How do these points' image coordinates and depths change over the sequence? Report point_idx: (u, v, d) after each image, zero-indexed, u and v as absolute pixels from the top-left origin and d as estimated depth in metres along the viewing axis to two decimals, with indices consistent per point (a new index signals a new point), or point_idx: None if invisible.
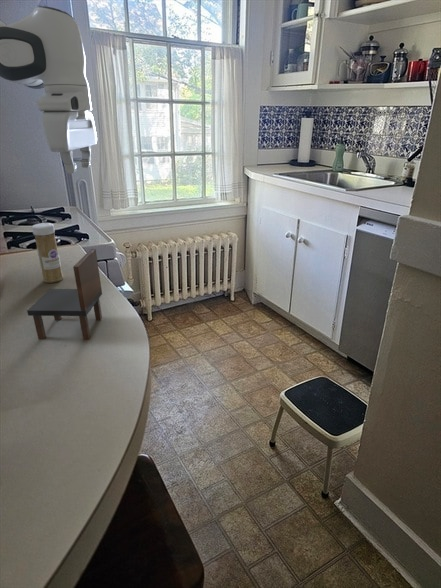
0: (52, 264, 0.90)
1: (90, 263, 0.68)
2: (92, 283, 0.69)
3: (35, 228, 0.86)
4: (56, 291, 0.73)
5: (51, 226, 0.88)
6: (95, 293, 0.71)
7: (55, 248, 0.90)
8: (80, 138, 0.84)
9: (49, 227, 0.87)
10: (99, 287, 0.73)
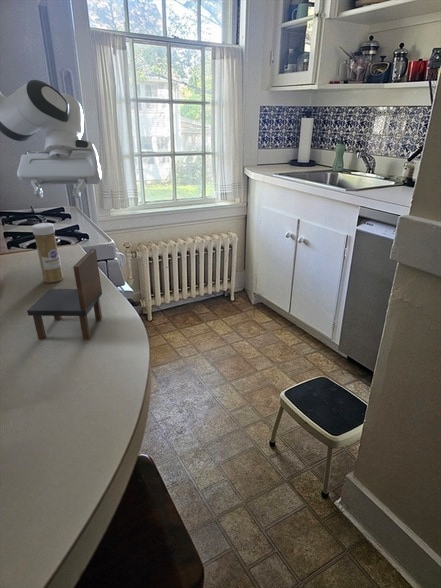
0: (52, 264, 0.90)
1: (90, 263, 0.68)
2: (92, 283, 0.69)
3: (35, 228, 0.86)
4: (56, 291, 0.73)
5: (51, 226, 0.88)
6: (95, 293, 0.71)
7: (55, 248, 0.90)
8: None
9: (49, 227, 0.87)
10: (99, 287, 0.73)
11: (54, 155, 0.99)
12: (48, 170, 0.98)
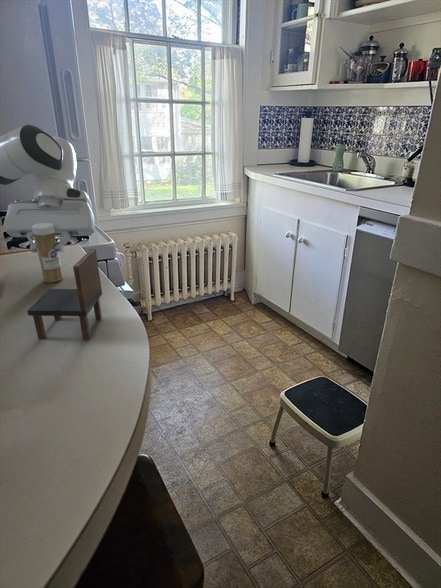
0: (52, 264, 0.90)
1: (90, 263, 0.68)
2: (92, 283, 0.69)
3: (35, 228, 0.86)
4: (56, 291, 0.73)
5: (51, 226, 0.88)
6: (95, 293, 0.71)
7: None
8: None
9: (48, 227, 0.87)
10: (99, 287, 0.73)
11: (44, 206, 0.91)
12: (37, 222, 0.90)
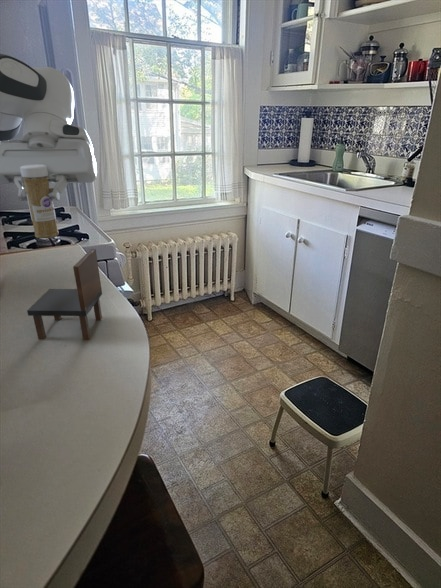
0: (45, 215, 0.74)
1: (90, 263, 0.68)
2: (92, 283, 0.69)
3: (24, 168, 0.71)
4: (56, 291, 0.73)
5: (44, 167, 0.72)
6: (95, 293, 0.71)
7: None
8: None
9: (40, 168, 0.71)
10: (99, 287, 0.73)
11: (35, 145, 0.75)
12: (27, 164, 0.75)
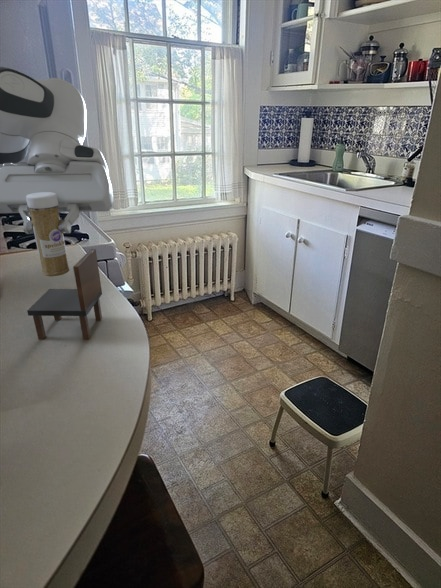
0: (54, 251, 0.64)
1: (90, 263, 0.68)
2: (92, 283, 0.69)
3: (30, 198, 0.61)
4: (56, 291, 0.73)
5: (53, 196, 0.62)
6: (95, 293, 0.71)
7: None
8: None
9: (50, 197, 0.61)
10: (99, 287, 0.73)
11: (43, 169, 0.65)
12: (33, 192, 0.65)
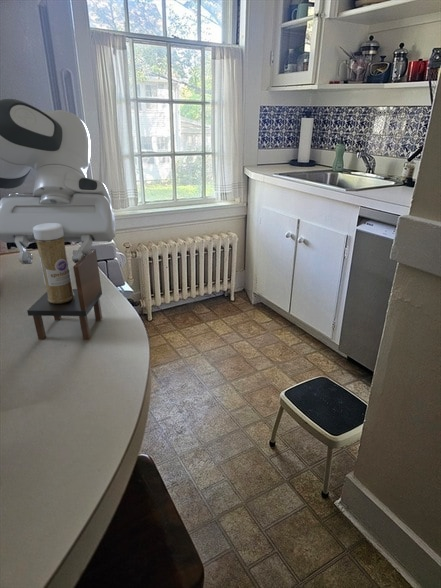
0: (60, 280, 0.67)
1: (90, 263, 0.68)
2: (92, 283, 0.69)
3: (37, 230, 0.63)
4: None
5: (59, 227, 0.64)
6: (95, 293, 0.71)
7: (64, 257, 0.66)
8: None
9: (56, 229, 0.63)
10: (99, 287, 0.73)
11: (48, 201, 0.68)
12: (39, 223, 0.67)
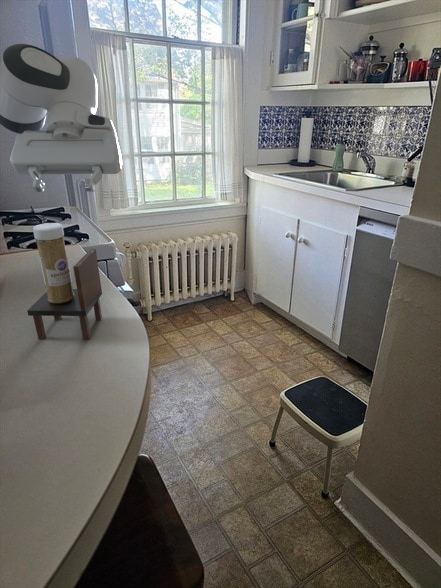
0: (60, 280, 0.67)
1: (90, 263, 0.68)
2: (92, 283, 0.69)
3: (37, 230, 0.63)
4: None
5: (59, 227, 0.64)
6: (95, 293, 0.71)
7: (64, 257, 0.66)
8: None
9: (56, 229, 0.63)
10: (99, 287, 0.73)
11: (60, 135, 0.74)
12: (52, 155, 0.73)
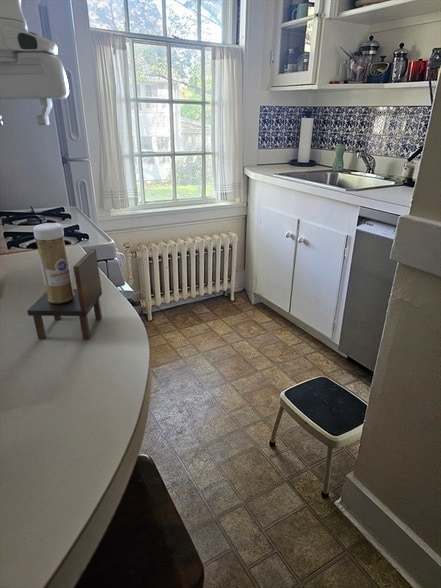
0: (60, 280, 0.67)
1: (90, 263, 0.68)
2: (92, 283, 0.69)
3: (37, 230, 0.63)
4: None
5: (59, 227, 0.64)
6: (95, 293, 0.71)
7: (64, 257, 0.66)
8: None
9: (56, 229, 0.63)
10: (99, 287, 0.73)
11: None
12: None
